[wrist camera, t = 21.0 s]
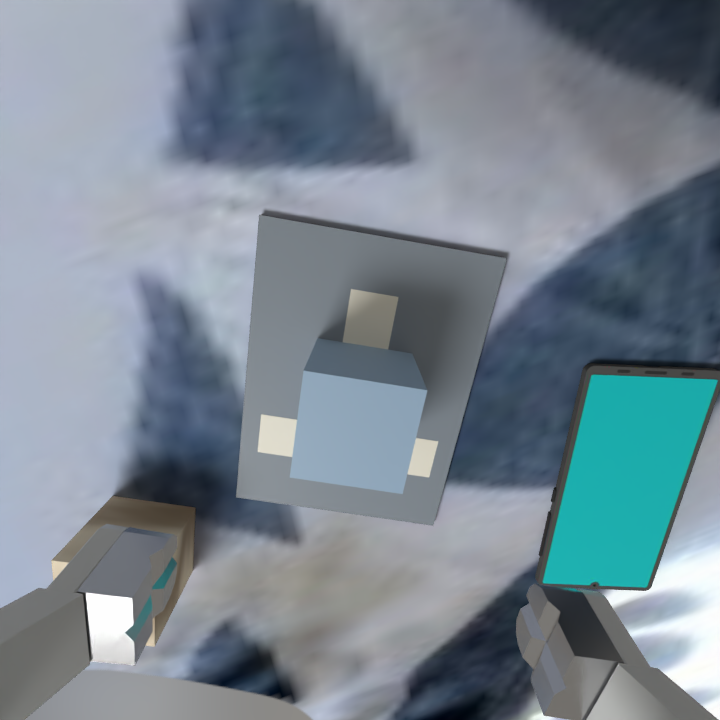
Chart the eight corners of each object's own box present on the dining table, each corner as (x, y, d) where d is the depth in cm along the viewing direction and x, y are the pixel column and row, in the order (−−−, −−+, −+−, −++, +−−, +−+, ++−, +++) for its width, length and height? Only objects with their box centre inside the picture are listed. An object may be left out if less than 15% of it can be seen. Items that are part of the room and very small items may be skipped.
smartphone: (726, 371, 21) (650, 591, 25) (712, 366, 21) (641, 580, 26) (586, 365, 21) (535, 586, 25) (578, 360, 21) (530, 575, 26)
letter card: (260, 215, 19) (259, 214, 18) (504, 257, 19) (507, 258, 19) (237, 493, 24) (235, 497, 23) (432, 521, 24) (433, 525, 24)
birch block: (113, 495, 24) (51, 560, 19) (196, 506, 24) (154, 574, 19) (115, 559, 25) (58, 634, 21) (193, 569, 26) (154, 646, 21)
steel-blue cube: (317, 338, 20) (303, 370, 15) (412, 353, 20) (427, 390, 16) (305, 423, 22) (289, 477, 17) (394, 437, 22) (402, 494, 17)
